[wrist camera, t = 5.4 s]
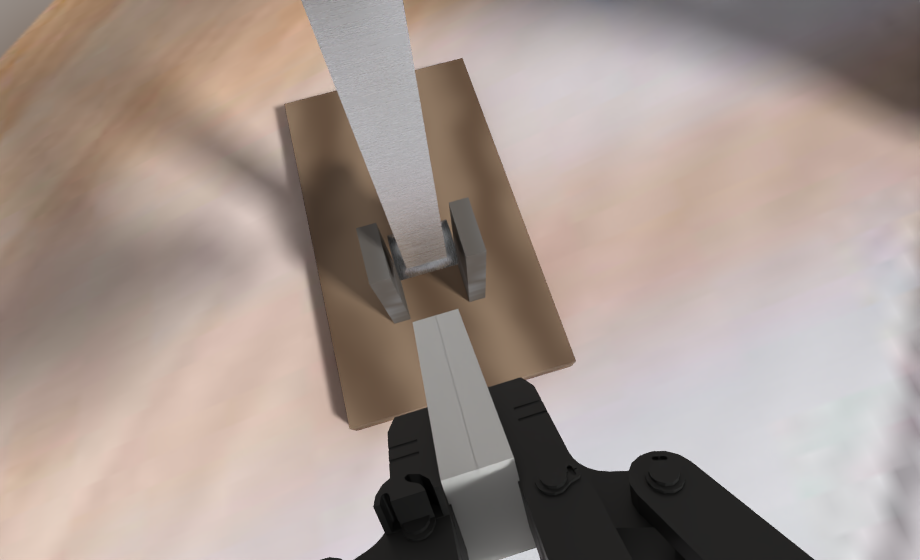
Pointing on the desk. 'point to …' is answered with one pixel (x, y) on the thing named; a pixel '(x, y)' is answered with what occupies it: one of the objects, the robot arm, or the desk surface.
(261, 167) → the desk surface
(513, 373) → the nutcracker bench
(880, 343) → the desk surface
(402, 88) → the lever
